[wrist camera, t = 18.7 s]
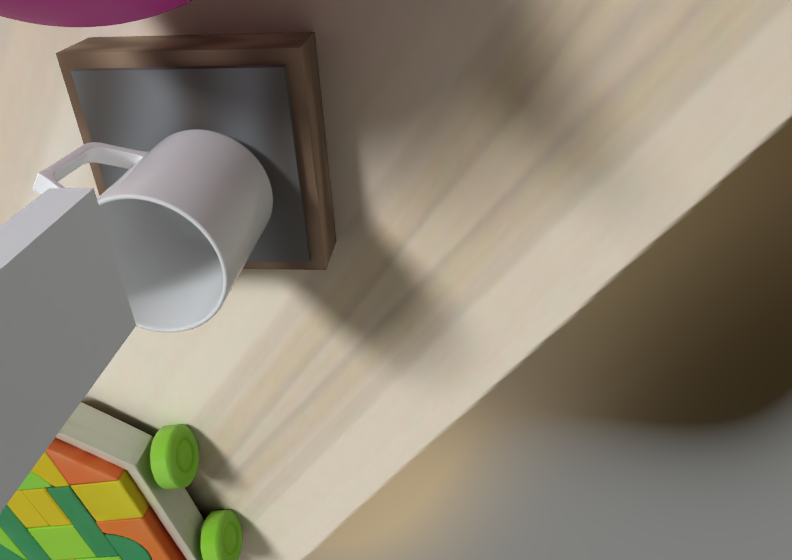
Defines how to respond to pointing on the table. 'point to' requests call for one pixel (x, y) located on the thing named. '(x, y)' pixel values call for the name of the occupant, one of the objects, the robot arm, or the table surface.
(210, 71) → the walnut plinth
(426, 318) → the table surface
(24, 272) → the robot arm
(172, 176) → the mug
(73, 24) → the figurine
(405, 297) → the table surface
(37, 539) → the toy wagon
